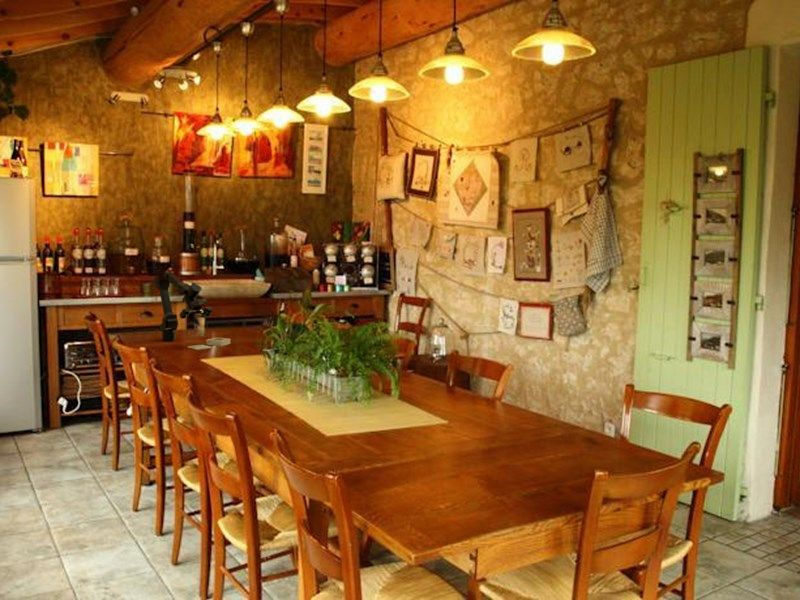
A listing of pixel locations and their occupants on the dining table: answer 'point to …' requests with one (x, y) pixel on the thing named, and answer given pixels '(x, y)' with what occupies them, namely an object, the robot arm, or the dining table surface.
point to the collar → (218, 341)
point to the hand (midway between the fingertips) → (202, 324)
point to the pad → (199, 347)
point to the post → (200, 327)
